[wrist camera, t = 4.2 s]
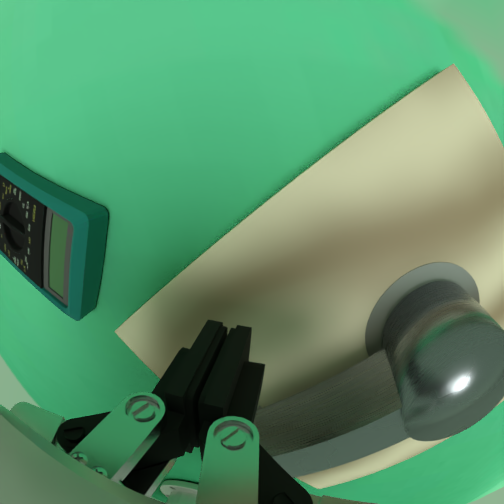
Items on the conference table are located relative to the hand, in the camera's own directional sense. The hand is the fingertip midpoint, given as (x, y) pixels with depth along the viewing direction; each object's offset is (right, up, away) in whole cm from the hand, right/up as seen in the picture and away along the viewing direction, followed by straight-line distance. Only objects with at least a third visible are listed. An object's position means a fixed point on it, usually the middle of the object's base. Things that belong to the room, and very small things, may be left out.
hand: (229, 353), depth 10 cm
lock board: (+8, -2, +3) cm, 9 cm away
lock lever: (+6, -2, +2) cm, 6 cm away
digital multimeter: (-14, +6, +5) cm, 17 cm away
